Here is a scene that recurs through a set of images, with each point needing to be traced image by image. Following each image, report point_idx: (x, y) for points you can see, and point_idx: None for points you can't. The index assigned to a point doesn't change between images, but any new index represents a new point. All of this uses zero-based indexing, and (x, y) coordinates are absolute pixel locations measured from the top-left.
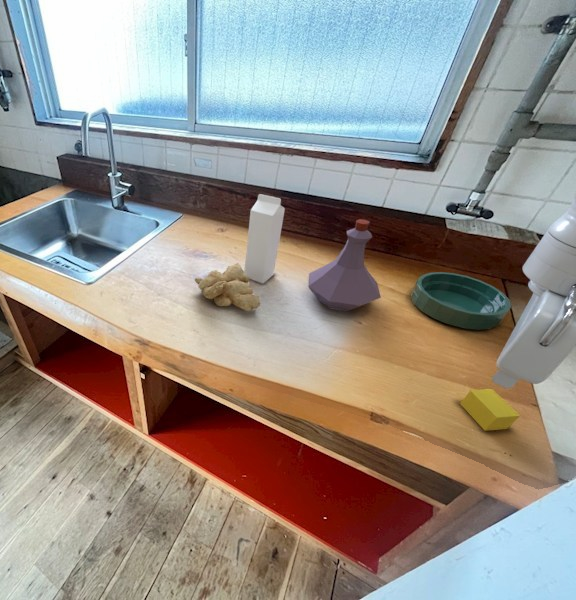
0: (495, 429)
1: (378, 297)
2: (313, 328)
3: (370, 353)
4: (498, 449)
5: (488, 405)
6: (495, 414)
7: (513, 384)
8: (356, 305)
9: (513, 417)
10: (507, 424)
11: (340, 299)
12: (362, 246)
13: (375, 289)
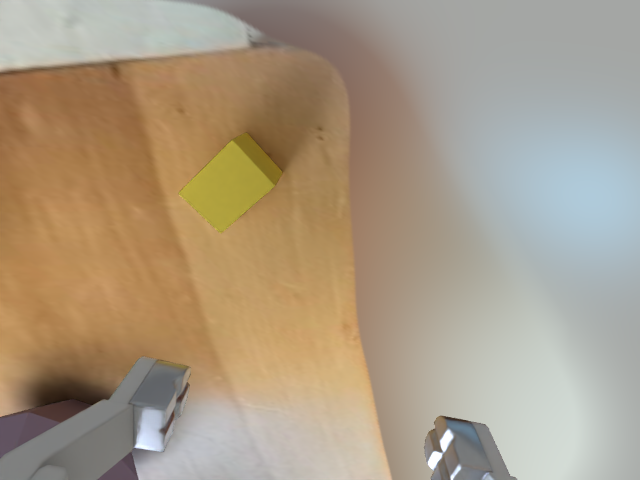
0: (266, 154)
1: (35, 417)
2: (212, 441)
3: (208, 360)
4: (318, 149)
5: (246, 201)
6: (266, 188)
7: (496, 447)
8: None
9: (244, 150)
10: (249, 143)
11: (119, 471)
12: None
13: (19, 441)
